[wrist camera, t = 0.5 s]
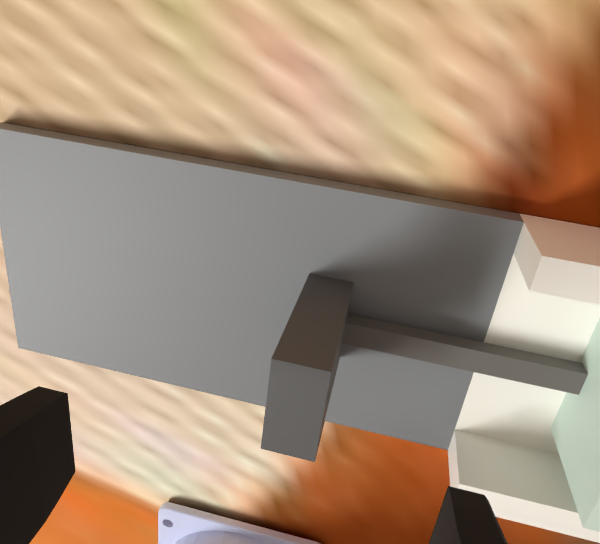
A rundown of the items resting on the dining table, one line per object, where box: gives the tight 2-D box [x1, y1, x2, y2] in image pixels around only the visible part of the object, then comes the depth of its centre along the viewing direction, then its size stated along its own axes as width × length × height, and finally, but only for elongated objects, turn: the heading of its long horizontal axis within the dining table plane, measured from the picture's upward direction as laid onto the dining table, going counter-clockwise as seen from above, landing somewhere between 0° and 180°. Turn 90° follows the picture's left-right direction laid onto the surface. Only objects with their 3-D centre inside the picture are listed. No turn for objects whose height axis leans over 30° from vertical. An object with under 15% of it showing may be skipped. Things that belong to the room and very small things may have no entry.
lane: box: [0, 122, 600, 543], centre depth 17 cm, size 9×28×3 cm, turn 83°
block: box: [261, 273, 600, 532], centre depth 15 cm, size 5×14×5 cm, turn 83°
